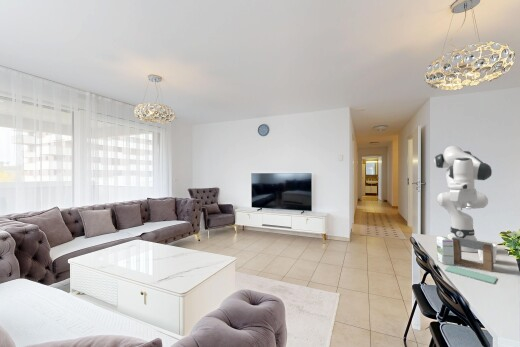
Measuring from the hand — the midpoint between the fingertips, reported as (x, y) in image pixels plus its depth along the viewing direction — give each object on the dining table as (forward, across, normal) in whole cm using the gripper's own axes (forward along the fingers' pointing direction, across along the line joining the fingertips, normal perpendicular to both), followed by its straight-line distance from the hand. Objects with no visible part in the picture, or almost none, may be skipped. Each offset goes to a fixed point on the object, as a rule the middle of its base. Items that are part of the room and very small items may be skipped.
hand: (464, 209), depth 125 cm
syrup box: (+32, +8, -6) cm, 33 cm away
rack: (+31, -1, +2) cm, 31 cm away
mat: (+31, +14, +8) cm, 35 cm away
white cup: (+31, -16, +3) cm, 35 cm away
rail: (+21, -1, +2) cm, 21 cm away
